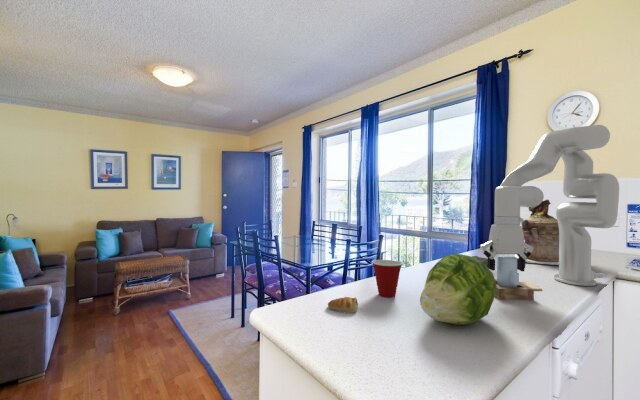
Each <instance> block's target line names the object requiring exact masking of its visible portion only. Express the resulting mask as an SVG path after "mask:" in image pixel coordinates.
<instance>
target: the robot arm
mask: <svg viewBox="0 0 640 400" xmlns="http://www.w3.org/2000/svg"><path fill="white" fill-rule="evenodd" d="M610 139H611V133H610V129H609V128H608V127H606V126H605V125H603V124H594V125H585V126H576V127H569V128H564V129H559V130H554V131H550V132H547V133H545V134H543V135H542V136H541V138H540V139H539V141H538V143H537V145H535V148H534V150H532V153H531V154H530V156H529V158H528V160H527V161H526V162H524V163H522V164H521V165H519V166H518V167H517V168H516V169H514V170H512V171H511V172H509V174H507V176H506V177H505V178H504V179H503V181H502V182H501V184H500V186H497V187H495V190H494V216H493V217H494V221H493V222H494V223H493V224H491V226H490V229H489V236H488V241H487V242H485V243H482V244H480V245H479V247H480V250H481V252H482V253H483V255H484V256H485V258H487V259H488V268H489V270H490V271H491V272H492V271H493V272H494V271H496V259H494V258H495V257H497V256H498V255H514V254H517V256H518V257H519V258H518V259H517V271H521V272H525V269H526V262H525V260H527V258H528V257H529V256H530V255H531V252H532V251H533V249H534V248H533V247H532V246H530V245H528V244H526V243H525V240H524V235H523V229H522V225H521V222H523V221H524V220H525V219H524V218H523V217H521V208H529V207H535V206H538V205H539V204H540V203H541V202H542V201H544V195H545V194H544V193H543V190H541V189H540V188H539V187H537V186H532V185H525V184H526V183H528V182H530V181H534V180H536V179H539V178H542V177H544V176H547V175H549V174H551V173H552V172H553V171H554V169H555V168H556V166H557V164H558V162H559V160H560V159H561V158H562V160H563V164H564V171H563V182H562V183H563V186H562V187H563V188H562V192H563V195H564V196H565V197H567V198H570V199H585V200H586V199H587V200H596V202H594V201H593V202H592V201H591V202H590V201H568V202H562V203H561V204H559V205H558V206H557V208H556V209H555V210H556V211H555V215H556V217H555V218H556V219H557V221H558V226H559V265H558V273H557V274H554V275H553V279H554V280H555V281H558V282H560V283H562V284H568V285H573V286H580V287H592V286H596V285H597V283H598V282H597V280H595V279H604V278H605V276H606V275H605V274H604V273H603V272H595V271H593V270H592V237H591V235H590V232H588V230H587V229H586V228H592V229H594V228H595V229H610V228H612V227H614V225H616V222H617V221H618V213H619V203H620V202H619V201H620V199H619V198H620V183H619V180H618V178H617V177H616V176H615V175H614V174H611V173H609V172H608V173H606V172H603V173H602V172H600V173H594V160H593V158H592V157H591V156H590V155H589V154H588V153H587V152H586V151H590V150H595V149H601V148H604V147H605V146H607V144H608V143H609V142H610ZM524 247H525V248H527V249H526V251H525V252H524ZM487 249H488V250H487Z"/></svg>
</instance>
